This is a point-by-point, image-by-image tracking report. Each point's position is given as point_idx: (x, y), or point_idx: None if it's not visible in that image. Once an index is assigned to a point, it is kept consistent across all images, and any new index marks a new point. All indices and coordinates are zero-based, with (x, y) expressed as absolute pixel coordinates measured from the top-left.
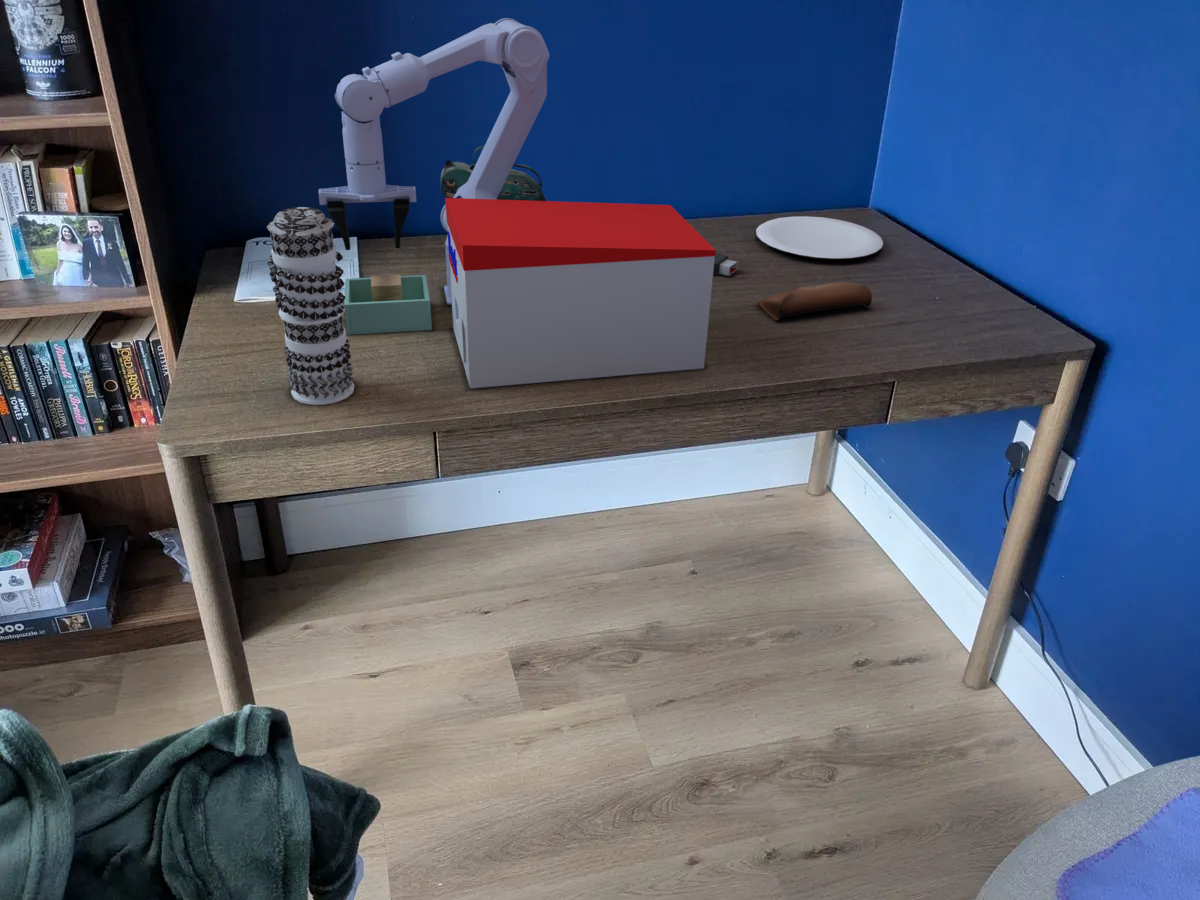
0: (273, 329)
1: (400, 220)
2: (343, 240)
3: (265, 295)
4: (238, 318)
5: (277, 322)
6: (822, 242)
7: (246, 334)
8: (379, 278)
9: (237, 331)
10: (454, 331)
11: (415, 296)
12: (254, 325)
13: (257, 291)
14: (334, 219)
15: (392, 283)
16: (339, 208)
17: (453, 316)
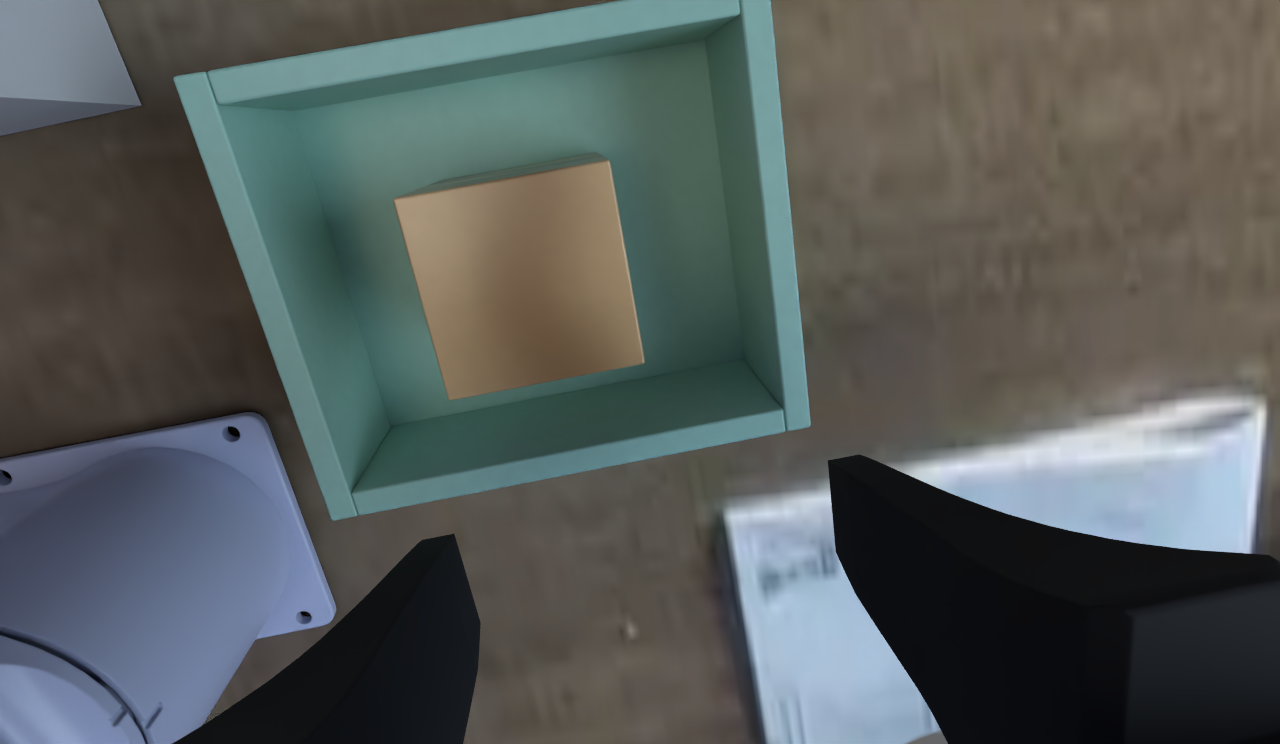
0: (1096, 83)
1: (270, 702)
2: (911, 479)
3: (1138, 476)
4: (1253, 215)
5: (1080, 173)
6: None
7: (1220, 14)
8: (577, 314)
9: (1261, 53)
10: (109, 40)
11: (425, 432)
12: (1183, 132)
13: (1171, 514)
14: (1141, 547)
15: (464, 223)
16: (1170, 704)
17: (51, 41)
